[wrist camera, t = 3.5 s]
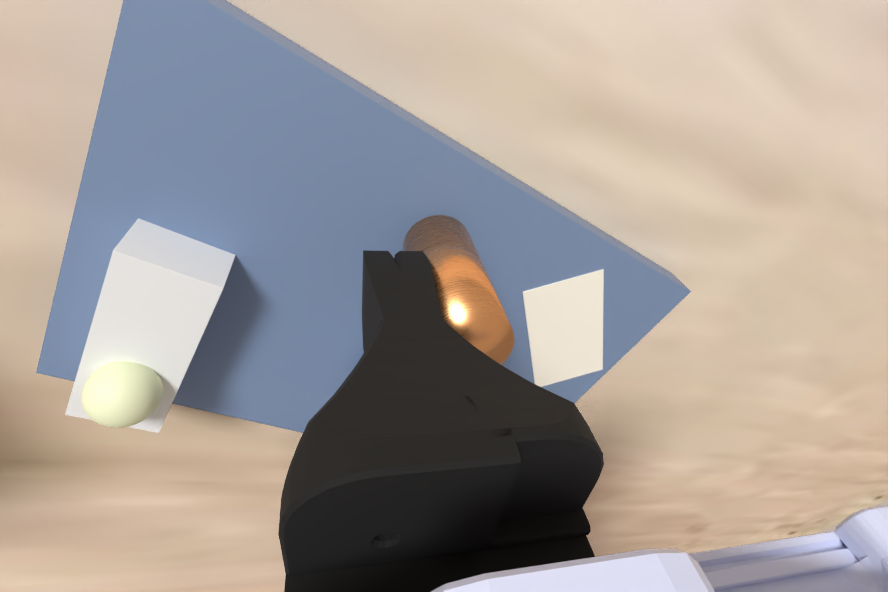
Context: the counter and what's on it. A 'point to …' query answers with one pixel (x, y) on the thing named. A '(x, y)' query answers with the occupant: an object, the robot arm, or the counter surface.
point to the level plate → (293, 233)
